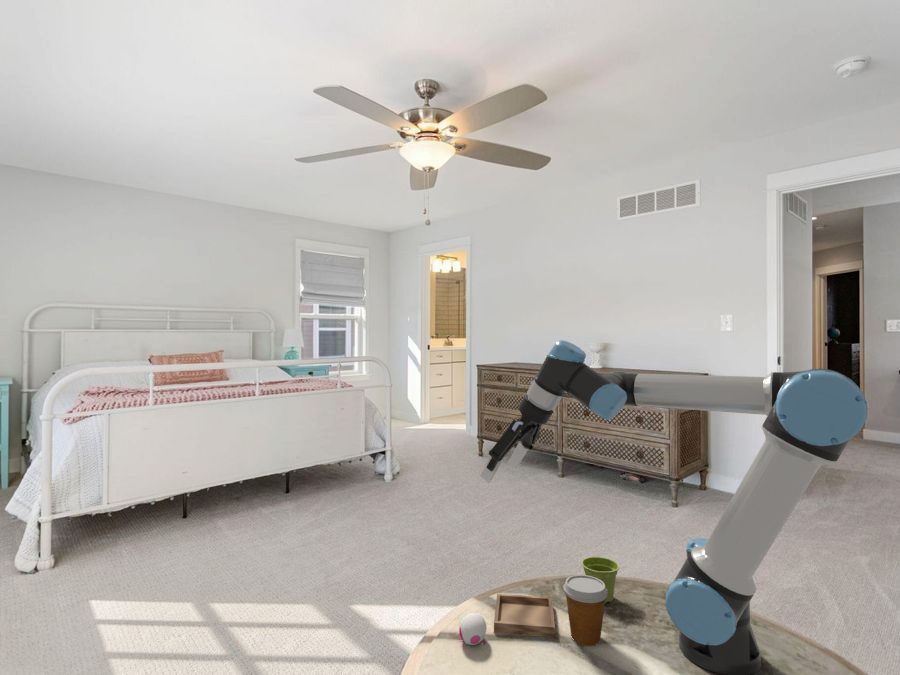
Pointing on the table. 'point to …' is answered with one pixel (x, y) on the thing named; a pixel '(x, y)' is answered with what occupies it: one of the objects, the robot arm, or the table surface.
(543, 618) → the tray
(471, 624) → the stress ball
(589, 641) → the disposable coffee cup
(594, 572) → the plant pot
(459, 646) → the table surface
